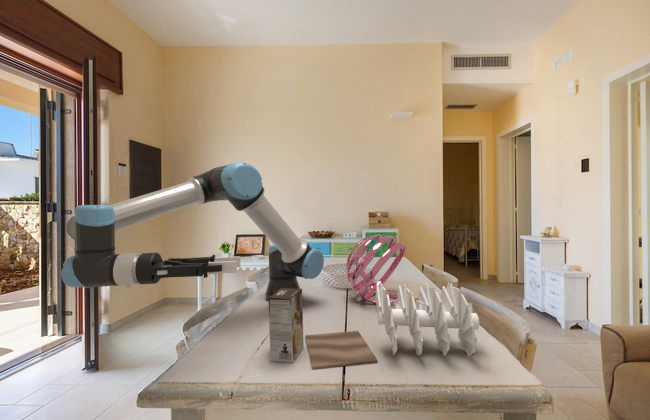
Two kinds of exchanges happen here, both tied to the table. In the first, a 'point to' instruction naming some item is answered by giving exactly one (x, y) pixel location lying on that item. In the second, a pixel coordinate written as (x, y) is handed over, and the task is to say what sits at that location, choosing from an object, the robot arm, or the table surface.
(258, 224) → the robot arm
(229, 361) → the table surface
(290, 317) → the coffee box
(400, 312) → the spiral staircase
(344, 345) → the walnut board
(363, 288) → the spiral basket
